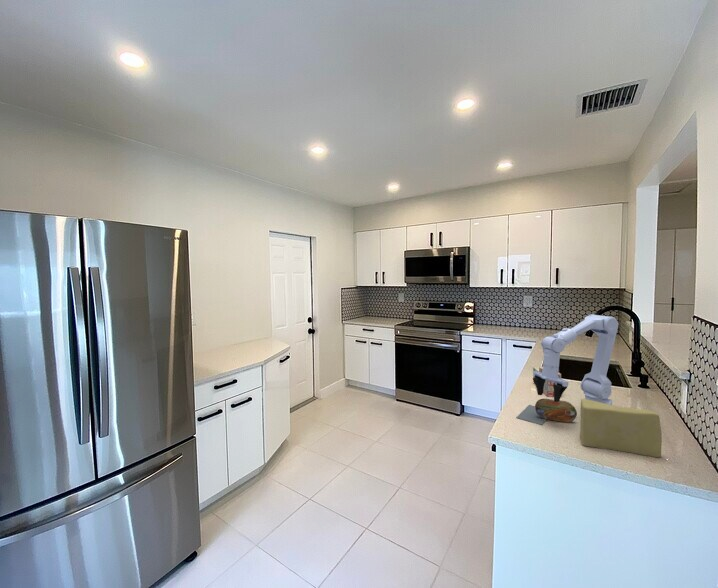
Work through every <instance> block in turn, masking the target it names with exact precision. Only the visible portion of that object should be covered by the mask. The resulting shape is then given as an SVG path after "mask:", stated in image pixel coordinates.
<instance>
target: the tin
mask: <svg viewBox="0 0 718 588" xmlns="http://www.w3.org/2000/svg"><path fill="white" fill-rule="evenodd" d="M534 406H535V410H536V413H537V414H538V415H539V416H540V417H541V418H543V419H547V420H548V421H555V422H562V423H570V422H573V421H574V420H575V419H576V418H577V416H578V415H577V413H578V412H577V409H576V407H575V406H574V405H572V404H571V403H570V402H568V401H566V400H560V401H559V402H555V401H554V399H552V398H540V399H538V400H537V401H536V402H535V405H534ZM547 420H546V421H547Z"/></svg>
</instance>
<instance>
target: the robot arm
mask: <svg viewBox="0 0 718 588" xmlns="http://www.w3.org/2000/svg"><path fill="white" fill-rule="evenodd" d="M619 324H620V323H619V322H618V320H617V319H616V317H614V316H607V315H606V316H605V315H601V314H600V315H599V314H593V313H591V314H588V315H587V316H585V317H584V319H583V320H581V322H579V323H577V324H576V325H574V326H573V327H571V328H569V327H568V328H567V327H564V328H562V329H561V331H559V332H557V333H553V334H552V335H551V336H545V337H544V338H543V339H542V342H541V343H540V346H541V348H542V353H543V358H542V367H543V370H542V373H541V372H537V371H533V370H532V376H535V378H533V377H532V381H534V383H535V384H534V383H533V384H534V385H535V389H536V393H537V395H538V396H542V395H544V393H543V388H544V384H545V381H546V380H548V381H551V382H554V383H557V384H554V385H553V388H554V397H553V400H554V401H555V402H559V401H561V398H562V395H563V394H564V392H565V391H566V389H567V388H568V387H569V381H567V380H565V379H564V378H562V377H561V378H559V377H558V372H559V373H560V358H561V357H560V356H561V352H563V351H564V350H565V348H566V346H567V345H569V344H571V343H573V342H575V341H576V340H577V336H580V335H581V334H584V333H586V332H588V331H590V330H591V331H592V332H593V333H595V334H596V335H597V337H598V341H597V345H596V349H595V353H594V357H593V361H592V366H591V370H590V372H588V373H586V374H584V377H583V379H582V380H581V381H580V382H581V383H580V389H581V390H582V391H583V394H584V399H587V400H592V401H596V402H600V403H604V404H609V405H613V400H612V399H611V398H610V396H611V395H612V382H611V380H610V379H609V378H608V376H607V373H608V369H609V366H610V362H611V359H612V358H611V357H612V354H613V350H614V346H615V342H616V337H617V333H618V328H619Z"/></svg>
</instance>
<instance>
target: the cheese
mask: <svg viewBox="0 0 718 588" xmlns="http://www.w3.org/2000/svg"><path fill="white" fill-rule="evenodd" d="M660 419H661V418H660V415H659V413H657V412H656V411H653V410H649V409H648V410H647V409H640V408H633V407H626V406H619V405H613V404H612V405H609V404H604V403H600V402H596V401H592V400H587V399H585V398H581V400H580V419H579V420H580V427H579V429H580V430H579V433H580V435H579V437H580V442H581V445H582V446H585V447H589V448H590V447H591V448H598V449H606V450H613V451H619V452H625V453H631V454H636V455H641V456H647V457H652V458H653V457H654V458H661V456H662V446H663V445H662V439H663V438H662V437H663V436H662V429H661V428H662V426H661V420H660Z"/></svg>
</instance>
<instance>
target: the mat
mask: <svg viewBox="0 0 718 588" xmlns="http://www.w3.org/2000/svg"><path fill="white" fill-rule="evenodd" d="M516 419H519V420H520V421H521V420H522V421H525V422H529V423H532V424H536V425H540V426H543V425H544V423H545V422H546V421H547V419H543V418H541V417H540V416H539V415H538V414H537V413H536V410H535V405H532V404H528V405H527V406H526V407H525V408H524V409H523V410H522V411H521V412H520V413H519V414H518V415H517V416H516Z"/></svg>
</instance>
